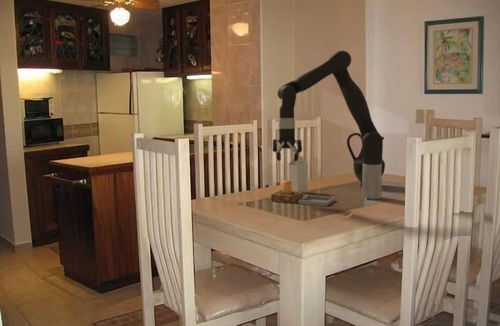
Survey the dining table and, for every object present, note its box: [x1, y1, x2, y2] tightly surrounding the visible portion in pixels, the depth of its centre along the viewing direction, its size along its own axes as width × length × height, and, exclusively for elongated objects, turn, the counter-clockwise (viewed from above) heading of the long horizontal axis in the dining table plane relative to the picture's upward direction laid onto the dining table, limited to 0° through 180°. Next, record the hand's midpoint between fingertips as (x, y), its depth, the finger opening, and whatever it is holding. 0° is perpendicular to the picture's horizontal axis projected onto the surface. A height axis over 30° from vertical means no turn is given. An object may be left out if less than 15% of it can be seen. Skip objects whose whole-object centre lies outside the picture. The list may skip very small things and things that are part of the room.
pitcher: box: [346, 132, 386, 188], centre depth 281 cm, size 17×21×30 cm
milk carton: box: [288, 155, 308, 193], centre depth 268 cm, size 7×7×19 cm
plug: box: [282, 179, 292, 195], centre depth 247 cm, size 4×4×10 cm
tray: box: [297, 194, 336, 207], centre depth 241 cm, size 14×14×2 cm
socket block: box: [270, 189, 304, 204], centre depth 247 cm, size 12×12×4 cm
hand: (287, 160), depth 244 cm, fingers open, 8 cm apart
